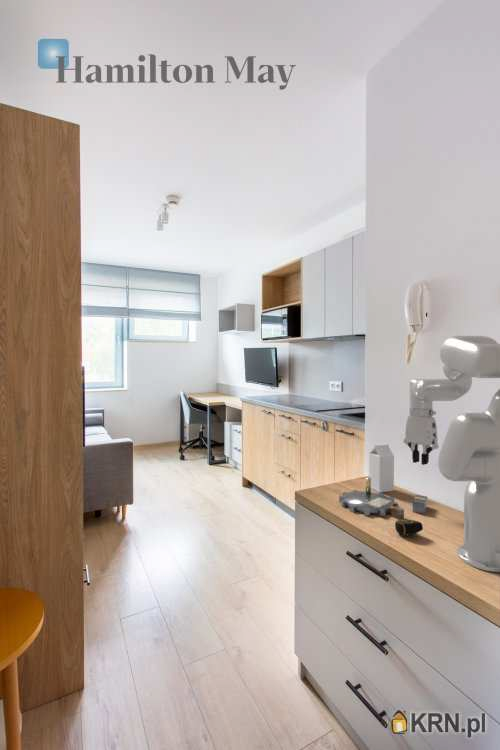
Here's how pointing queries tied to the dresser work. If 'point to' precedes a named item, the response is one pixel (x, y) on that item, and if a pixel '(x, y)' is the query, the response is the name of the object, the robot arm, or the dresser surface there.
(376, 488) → the milk carton
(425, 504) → the grey rectangular block
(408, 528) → the tape measure
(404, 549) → the dresser surface
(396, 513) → the taupe wooden cube
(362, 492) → the sprocket
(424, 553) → the dresser surface
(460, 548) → the robot arm
